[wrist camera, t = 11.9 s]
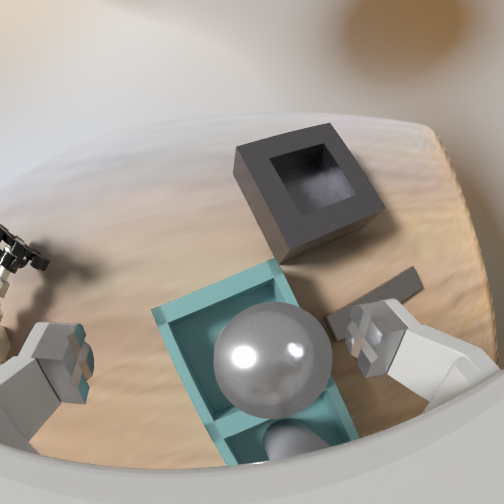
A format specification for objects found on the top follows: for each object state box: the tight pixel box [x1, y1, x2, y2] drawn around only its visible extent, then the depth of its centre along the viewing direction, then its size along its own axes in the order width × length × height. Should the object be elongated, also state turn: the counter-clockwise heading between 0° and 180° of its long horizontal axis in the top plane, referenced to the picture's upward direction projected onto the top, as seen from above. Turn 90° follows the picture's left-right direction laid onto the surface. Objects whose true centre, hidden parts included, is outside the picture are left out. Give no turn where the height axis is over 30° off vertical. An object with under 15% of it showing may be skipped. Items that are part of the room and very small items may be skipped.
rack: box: [151, 257, 360, 466], centre depth 17 cm, size 17×9×7 cm, turn 25°
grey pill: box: [214, 302, 333, 419], centre depth 15 cm, size 4×4×12 cm
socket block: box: [233, 123, 385, 264], centre depth 24 cm, size 9×9×4 cm
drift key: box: [323, 266, 423, 341], centre depth 24 cm, size 10×2×1 cm, turn 115°
